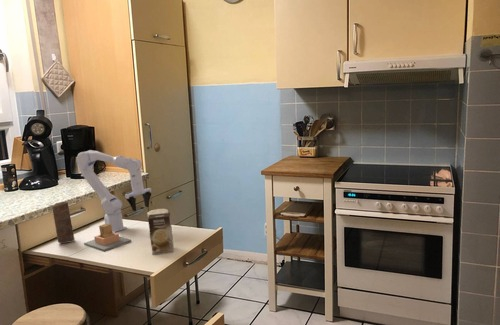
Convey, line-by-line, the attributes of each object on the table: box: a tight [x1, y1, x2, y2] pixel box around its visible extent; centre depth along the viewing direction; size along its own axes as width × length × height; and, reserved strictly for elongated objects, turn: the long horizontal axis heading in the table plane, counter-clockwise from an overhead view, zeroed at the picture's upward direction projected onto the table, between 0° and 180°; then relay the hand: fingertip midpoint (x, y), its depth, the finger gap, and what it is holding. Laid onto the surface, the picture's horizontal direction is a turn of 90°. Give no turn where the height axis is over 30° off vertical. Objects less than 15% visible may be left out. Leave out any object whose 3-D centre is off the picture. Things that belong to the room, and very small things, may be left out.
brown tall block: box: [51, 201, 75, 244], centre depth 201 cm, size 8×7×20 cm
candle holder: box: [146, 208, 169, 218], centre depth 199 cm, size 10×10×12 cm
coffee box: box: [147, 212, 175, 256], centre depth 176 cm, size 9×6×16 cm
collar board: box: [83, 232, 132, 253], centre depth 195 cm, size 18×14×4 cm
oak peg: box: [98, 223, 114, 238], centre depth 194 cm, size 4×4×8 cm
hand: (140, 208), depth 213 cm, fingers open, 7 cm apart
